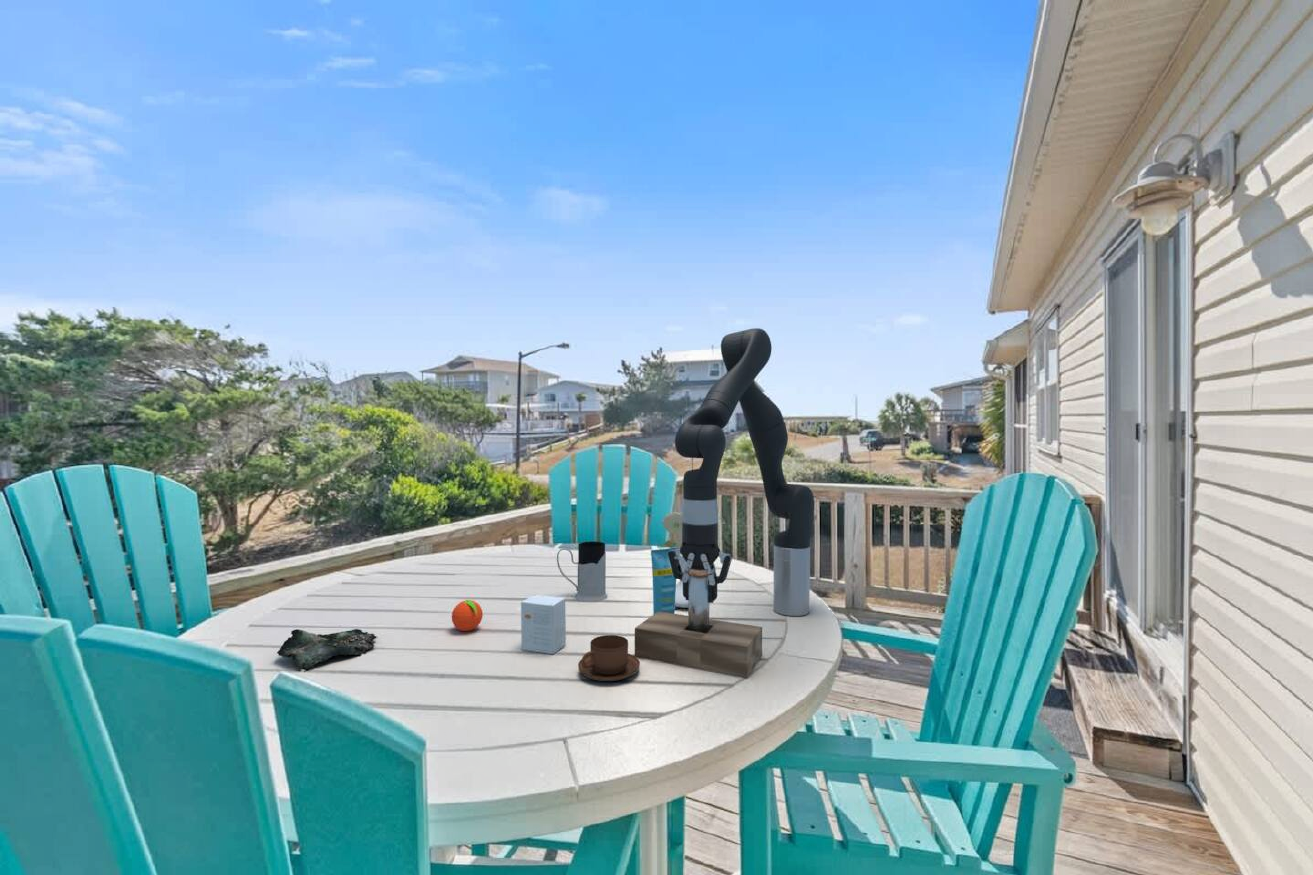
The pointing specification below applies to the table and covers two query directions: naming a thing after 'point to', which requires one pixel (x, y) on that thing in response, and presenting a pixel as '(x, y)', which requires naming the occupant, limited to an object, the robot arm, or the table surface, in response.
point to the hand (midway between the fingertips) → (699, 599)
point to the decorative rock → (324, 646)
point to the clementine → (467, 615)
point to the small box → (543, 624)
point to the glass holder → (590, 571)
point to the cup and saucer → (608, 659)
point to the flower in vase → (675, 526)
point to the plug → (698, 600)
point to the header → (699, 644)
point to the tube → (663, 581)
